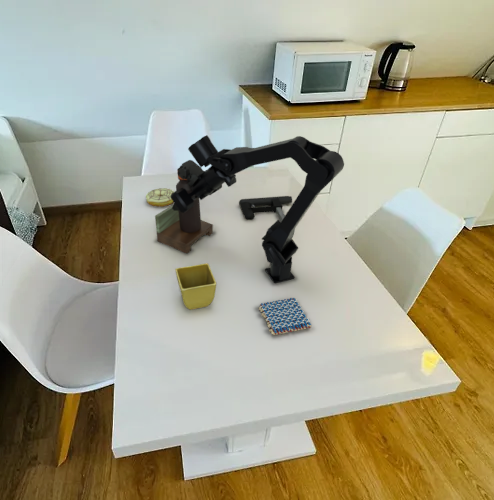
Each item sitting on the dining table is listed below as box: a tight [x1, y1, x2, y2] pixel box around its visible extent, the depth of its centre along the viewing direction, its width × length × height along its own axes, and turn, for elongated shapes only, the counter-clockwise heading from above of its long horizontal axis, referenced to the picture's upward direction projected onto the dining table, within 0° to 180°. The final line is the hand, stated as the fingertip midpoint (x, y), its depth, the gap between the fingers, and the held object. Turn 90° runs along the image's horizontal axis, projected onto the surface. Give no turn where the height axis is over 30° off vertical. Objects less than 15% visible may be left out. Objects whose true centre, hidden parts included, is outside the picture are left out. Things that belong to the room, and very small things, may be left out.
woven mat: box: [258, 297, 312, 336], centre depth 97 cm, size 10×11×2 cm
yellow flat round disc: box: [145, 187, 175, 208], centre depth 145 cm, size 10×11×4 cm
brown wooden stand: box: [154, 203, 214, 254], centre depth 124 cm, size 12×14×10 cm
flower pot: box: [174, 263, 217, 311], centre depth 99 cm, size 9×9×9 cm
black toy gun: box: [238, 195, 293, 222], centre depth 140 cm, size 3×20×16 cm
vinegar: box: [175, 170, 202, 233], centre depth 119 cm, size 7×7×20 cm
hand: (182, 203), depth 120 cm, fingers open, 9 cm apart
